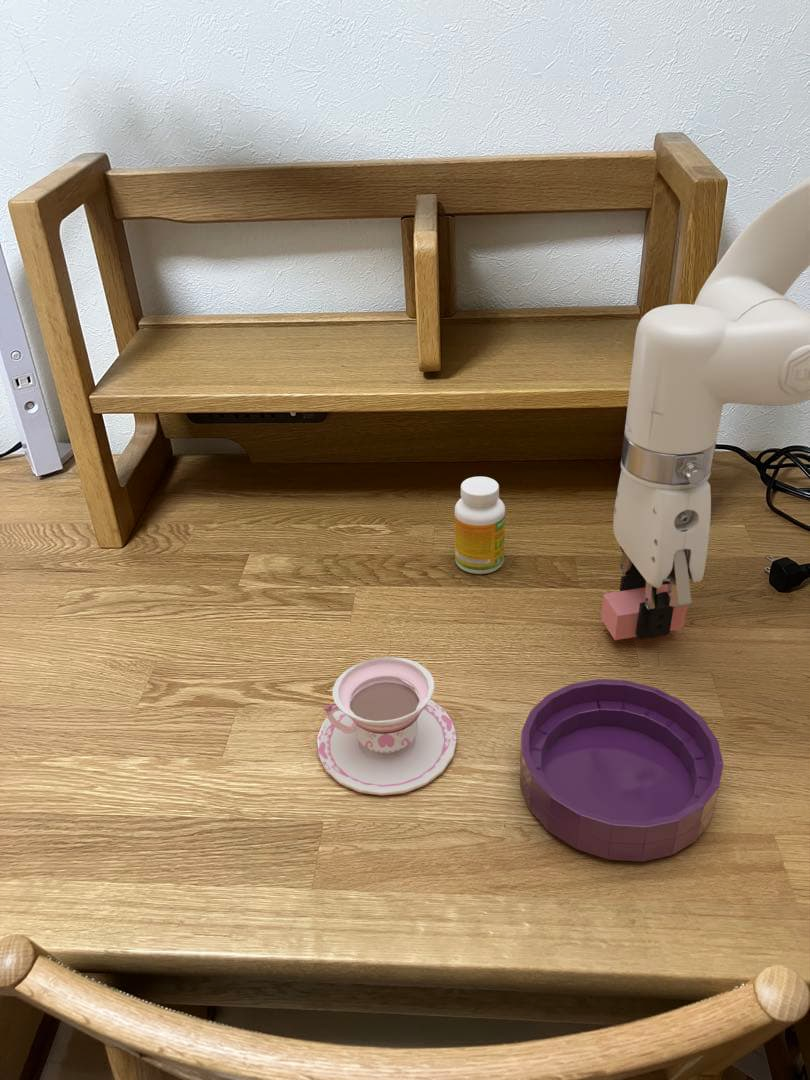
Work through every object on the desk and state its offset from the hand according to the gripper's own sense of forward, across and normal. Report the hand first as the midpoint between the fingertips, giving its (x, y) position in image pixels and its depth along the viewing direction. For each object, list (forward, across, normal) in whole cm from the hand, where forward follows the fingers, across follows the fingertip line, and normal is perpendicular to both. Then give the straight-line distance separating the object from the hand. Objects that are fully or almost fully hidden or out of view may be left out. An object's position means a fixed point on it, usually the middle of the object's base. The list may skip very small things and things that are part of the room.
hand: (642, 620), depth 87 cm
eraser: (0, 0, 0) cm, 0 cm away
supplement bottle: (+2, +16, +12) cm, 20 cm away
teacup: (+2, -8, +27) cm, 28 cm away
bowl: (+2, -17, +10) cm, 20 cm away
